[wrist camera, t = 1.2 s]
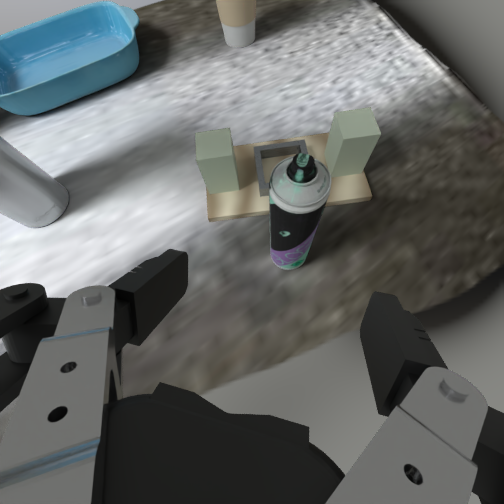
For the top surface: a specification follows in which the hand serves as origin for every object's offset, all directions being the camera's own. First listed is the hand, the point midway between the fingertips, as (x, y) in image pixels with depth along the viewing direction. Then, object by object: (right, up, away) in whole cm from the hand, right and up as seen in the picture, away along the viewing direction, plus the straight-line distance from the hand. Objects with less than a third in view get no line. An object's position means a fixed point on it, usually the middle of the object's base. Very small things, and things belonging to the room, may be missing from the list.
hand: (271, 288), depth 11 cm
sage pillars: (+4, +15, +31) cm, 35 cm away
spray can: (+5, +1, +27) cm, 28 cm away
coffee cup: (-4, +51, +48) cm, 70 cm away
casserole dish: (-41, +42, +47) cm, 76 cm away
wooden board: (+4, +15, +32) cm, 36 cm away
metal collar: (+4, +15, +31) cm, 35 cm away
